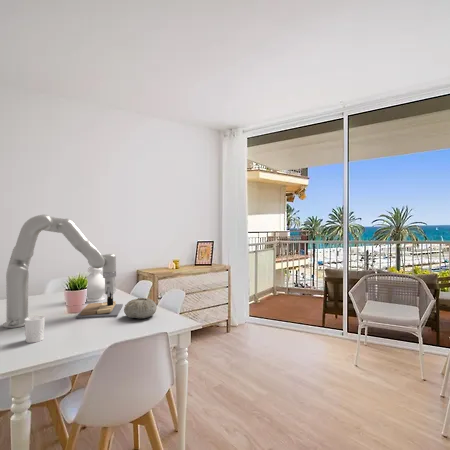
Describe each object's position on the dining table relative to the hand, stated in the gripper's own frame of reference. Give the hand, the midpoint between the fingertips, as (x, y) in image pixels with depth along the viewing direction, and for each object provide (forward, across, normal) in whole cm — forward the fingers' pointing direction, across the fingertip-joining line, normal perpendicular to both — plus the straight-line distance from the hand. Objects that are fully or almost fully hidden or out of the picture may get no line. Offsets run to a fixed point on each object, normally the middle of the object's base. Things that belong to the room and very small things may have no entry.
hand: (110, 305), depth 192 cm
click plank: (+2, 0, +2) cm, 3 cm away
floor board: (+4, 0, +5) cm, 6 cm away
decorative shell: (+4, -16, -19) cm, 25 cm away
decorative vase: (+4, +34, +16) cm, 37 cm away
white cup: (+3, -45, +25) cm, 52 cm away
